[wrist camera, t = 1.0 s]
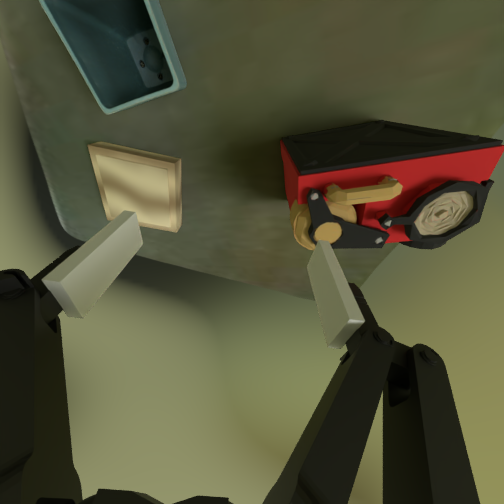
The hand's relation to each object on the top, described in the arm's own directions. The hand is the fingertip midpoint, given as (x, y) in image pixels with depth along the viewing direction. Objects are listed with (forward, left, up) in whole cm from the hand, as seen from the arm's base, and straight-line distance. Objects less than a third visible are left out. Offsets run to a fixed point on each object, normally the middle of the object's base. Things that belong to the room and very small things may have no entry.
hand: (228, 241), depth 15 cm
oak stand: (+7, -16, -21) cm, 28 cm away
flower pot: (-10, -13, -22) cm, 27 cm away
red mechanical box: (-3, +13, -22) cm, 25 cm away
